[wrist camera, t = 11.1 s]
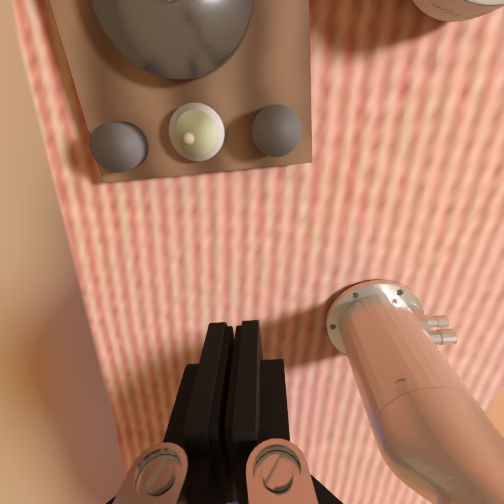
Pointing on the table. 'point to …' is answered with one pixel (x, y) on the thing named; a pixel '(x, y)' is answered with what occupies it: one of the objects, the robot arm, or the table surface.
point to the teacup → (457, 8)
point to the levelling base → (194, 99)
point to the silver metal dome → (175, 33)
